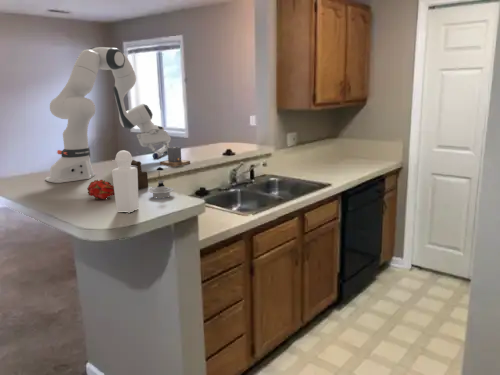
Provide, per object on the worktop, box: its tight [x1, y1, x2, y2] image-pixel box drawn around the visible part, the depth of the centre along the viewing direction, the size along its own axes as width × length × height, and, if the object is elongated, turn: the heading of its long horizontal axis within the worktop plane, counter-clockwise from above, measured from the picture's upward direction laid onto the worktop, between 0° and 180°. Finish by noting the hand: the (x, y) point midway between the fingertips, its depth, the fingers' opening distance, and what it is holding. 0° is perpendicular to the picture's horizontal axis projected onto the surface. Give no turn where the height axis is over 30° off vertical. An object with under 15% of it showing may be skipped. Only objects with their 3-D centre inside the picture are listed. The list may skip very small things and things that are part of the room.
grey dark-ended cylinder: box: [152, 143, 170, 160], centre depth 277 cm, size 5×7×25 cm
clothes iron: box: [131, 159, 149, 190], centre depth 192 cm, size 8×16×13 cm, turn 44°
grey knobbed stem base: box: [148, 166, 175, 199], centre depth 174 cm, size 12×10×10 cm
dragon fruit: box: [87, 179, 115, 200], centre depth 172 cm, size 8×8×12 cm
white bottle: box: [111, 149, 140, 212], centre depth 153 cm, size 6×6×22 cm
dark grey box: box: [167, 145, 182, 162], centre depth 246 cm, size 5×6×8 cm
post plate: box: [159, 146, 191, 168], centre depth 246 cm, size 12×12×10 cm
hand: (161, 149), depth 253 cm, fingers open, 8 cm apart
